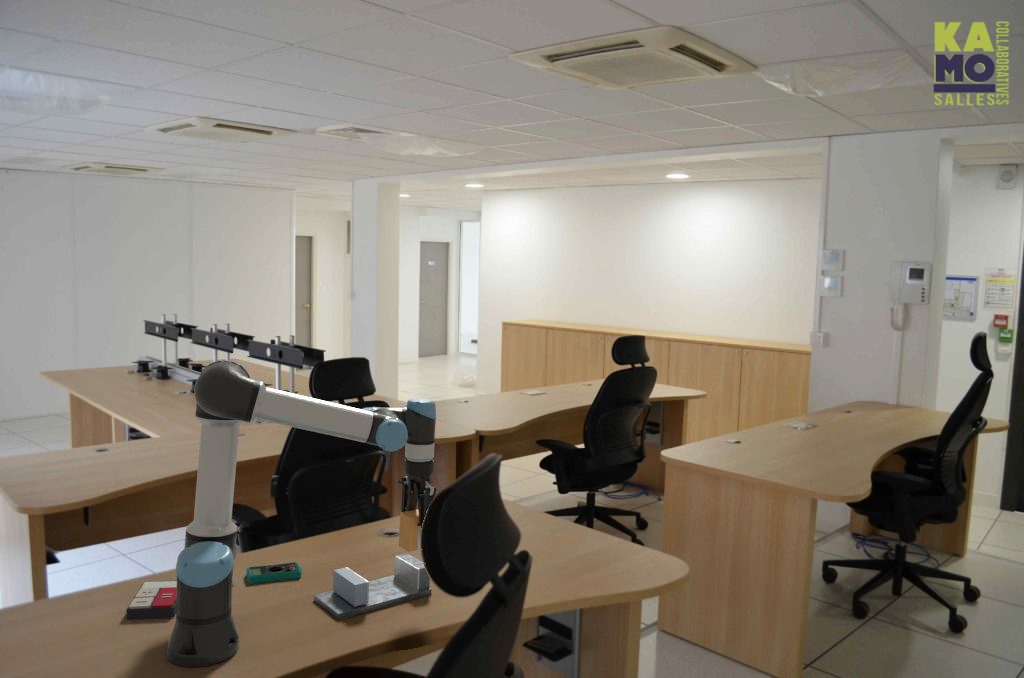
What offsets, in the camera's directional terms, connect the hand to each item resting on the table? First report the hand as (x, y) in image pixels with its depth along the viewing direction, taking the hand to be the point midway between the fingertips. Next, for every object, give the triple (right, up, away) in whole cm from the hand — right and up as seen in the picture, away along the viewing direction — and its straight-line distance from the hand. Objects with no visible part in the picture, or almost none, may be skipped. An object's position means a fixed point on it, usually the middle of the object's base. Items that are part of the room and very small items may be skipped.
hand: (416, 545), depth 199 cm
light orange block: (0, 0, 0) cm, 0 cm away
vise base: (-12, -16, +6) cm, 21 cm away
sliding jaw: (-18, -14, +1) cm, 22 cm away
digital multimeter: (-43, -14, +17) cm, 48 cm away
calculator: (-65, -15, -5) cm, 67 cm away
